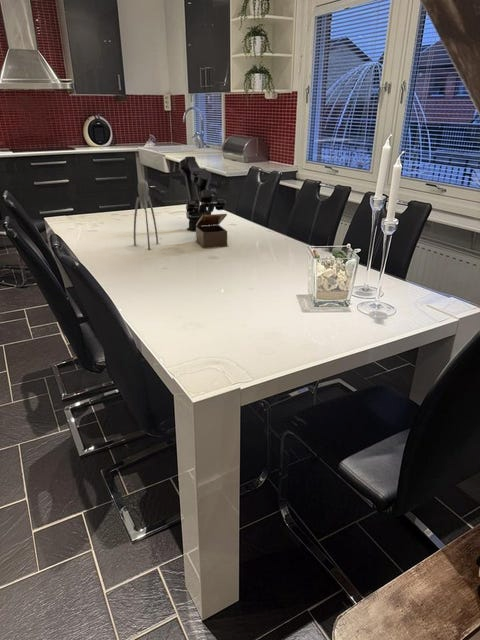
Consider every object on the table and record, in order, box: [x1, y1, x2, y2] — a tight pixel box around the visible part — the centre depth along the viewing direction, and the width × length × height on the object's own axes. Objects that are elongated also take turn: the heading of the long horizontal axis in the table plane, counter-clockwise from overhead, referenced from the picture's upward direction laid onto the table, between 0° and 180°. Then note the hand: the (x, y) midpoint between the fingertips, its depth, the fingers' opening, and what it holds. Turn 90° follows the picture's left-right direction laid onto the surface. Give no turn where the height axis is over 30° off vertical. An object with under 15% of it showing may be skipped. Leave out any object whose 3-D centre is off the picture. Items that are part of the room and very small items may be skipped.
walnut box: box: [195, 224, 228, 249], centre depth 223 cm, size 14×12×7 cm
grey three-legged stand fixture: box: [133, 179, 159, 251], centre depth 213 cm, size 11×10×30 cm
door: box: [196, 213, 228, 226], centre depth 220 cm, size 14×12×1 cm
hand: (209, 220), depth 222 cm, fingers closed
